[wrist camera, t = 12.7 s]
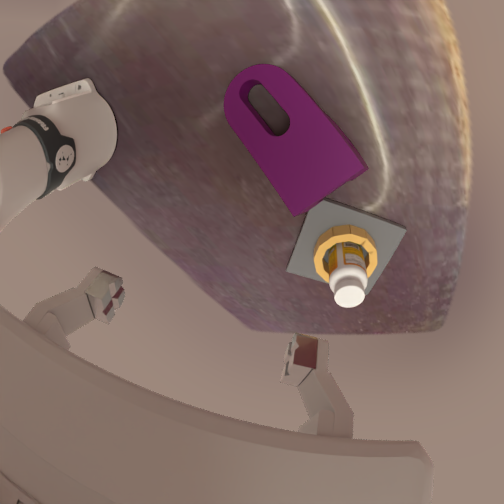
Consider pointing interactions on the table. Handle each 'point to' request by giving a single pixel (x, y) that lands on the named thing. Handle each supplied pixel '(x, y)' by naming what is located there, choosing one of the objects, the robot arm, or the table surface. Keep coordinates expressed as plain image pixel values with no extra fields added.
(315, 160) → the mounting bracket
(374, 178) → the table surface
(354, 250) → the supplement bottle
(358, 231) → the plate
